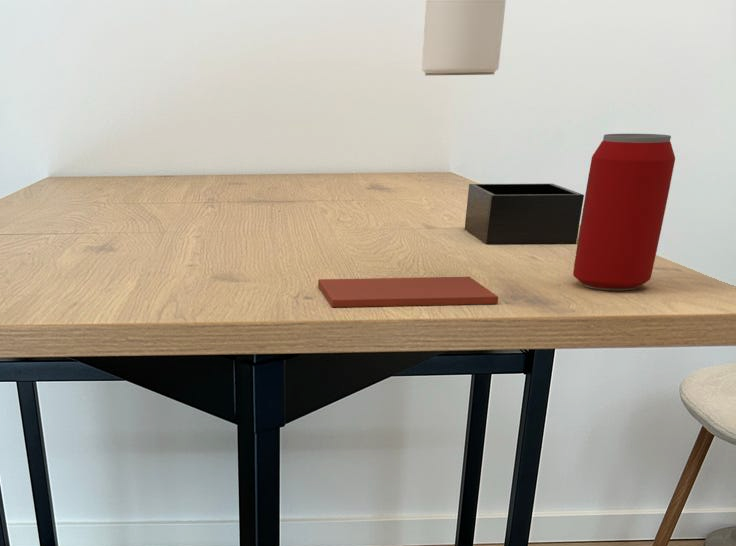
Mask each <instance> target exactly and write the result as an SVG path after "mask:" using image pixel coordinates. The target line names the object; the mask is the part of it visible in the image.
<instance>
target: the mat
mask: <svg viewBox="0 0 736 546" xmlns="http://www.w3.org/2000/svg"><path fill="white" fill-rule="evenodd" d="M317 286H318V288H319V290H320V292H321V293H322V295H324V297H325V299H326V300H327V302H328V303H329V304H330V306H331V307H332V308H359V307H360V308H361V307H362V308H363V307H364V308H365V307H405V306H406V307H407V306H410V307H411V306H412V307H413V306H451V305H452V306H457V305H461V306H462V305H497V304H498V303H499V296H498V294H495V293H494V292H493V291H491V290H490V289H488V288H486V287H485V286H484V285H482V284H481V283H479V282H478V281H477V280H475V279H474V278H472V277H471V276H429V277H426V276H425V277H420V276H419V277H375V278H374V277H373V278H371V277H370V278H368V277H367V278H322V279H321V278H320V279H319V278H318V280H317Z"/></svg>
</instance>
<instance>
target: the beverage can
mask: <svg viewBox="0 0 736 546" xmlns="http://www.w3.org/2000/svg"><path fill="white" fill-rule="evenodd" d="M671 138H672V137H671V135H669V134H660V133H659V134H658V133H657V134H656V133H606V134H603V138H602V141H601V142H600V144H599V145H598V147H596V149H595V150H594V153H593V154H592V156H591V160H590V165H589V171H588V178H587V183H586V188H585V194H584V199H583V205H582V211H581V218H580V224H579V230H578V236H577V243H576V244H577V245H576V250H575V257H574V264H573V272H572V275H573V278H575V279H576V280H577V281H579V283H581V285H582V286H583V287H585V288H590V289H592V290H601V291H611V292H612V291H613V292H615V291H617V292H619V291H620V292H621V291H633V290H636V289H638V288H639V287H640V286H642V285H644V284H646V283H647V282H649V281H650V280H651V279H652V275H653V270H654V265H655V261H656V256H657V251H658V246H659V242H660V236H661V232H662V228H663V223H664V218H665V213H666V208H667V202H668V198H669V193H670V190H671V189H670V188H671V184H672V179H673V173H674V169H675V168H674V167H675V162H676V156H675V153H674V149H673V146H672V142H671Z"/></svg>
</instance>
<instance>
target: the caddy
mask: <svg viewBox="0 0 736 546" xmlns="http://www.w3.org/2000/svg"><path fill="white" fill-rule="evenodd" d="M467 190H468V191H467V199H466V200H467V202H466V211H465V220H464V221H465V222H464V229H465V230H466V231H467V232H469V233H470V234H472V235H473V236H474V237H476V238H477V239H479V240H480V241H481V242H483V243H484V244H486V245H554V244H555V245H560V244H562V245H563V244H564V245H566V244H567V245H568V244H570V245H572V244H574V245H575V244H577V243H578V237H579V231H580V225H581V218H582V212H583V206H584V200H585V194H583V193H580V192H579V191H578V192H577V191H575V190H573V189H569V188H567V187H564V186H561V185H558V184H555V183H469V184H468V189H467Z"/></svg>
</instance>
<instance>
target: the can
mask: <svg viewBox="0 0 736 546" xmlns="http://www.w3.org/2000/svg"><path fill="white" fill-rule="evenodd" d="M506 2H507V0H426V1H425V12H424V13H425V15H424V30H423V46H422V61H421V62H422V63H421V71H422V72H423V73H424V76H428V77H429V76H488V75H489V76H493V75H495V74H496V71H498V70H499V66H500V59H501V49H502V40H503V39H502V38H503V30H504V21H505V9H506Z"/></svg>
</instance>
